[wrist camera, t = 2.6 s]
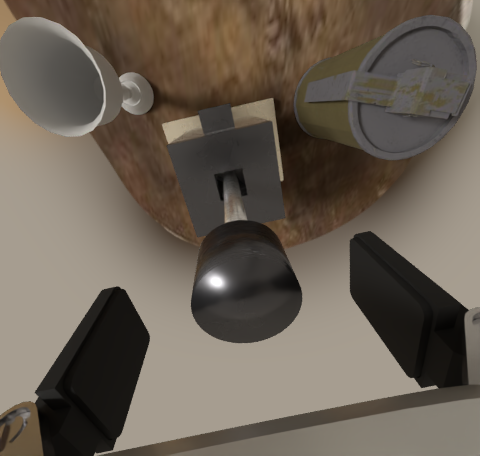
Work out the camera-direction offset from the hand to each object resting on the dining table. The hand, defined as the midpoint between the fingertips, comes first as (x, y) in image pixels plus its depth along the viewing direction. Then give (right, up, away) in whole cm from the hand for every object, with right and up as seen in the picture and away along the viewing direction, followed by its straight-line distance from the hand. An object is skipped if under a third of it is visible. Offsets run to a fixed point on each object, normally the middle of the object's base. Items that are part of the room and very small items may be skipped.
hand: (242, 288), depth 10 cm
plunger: (-1, +9, +18) cm, 20 cm away
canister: (+13, +21, +25) cm, 36 cm away
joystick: (-2, +14, +28) cm, 31 cm away
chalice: (-15, +21, +23) cm, 35 cm away
